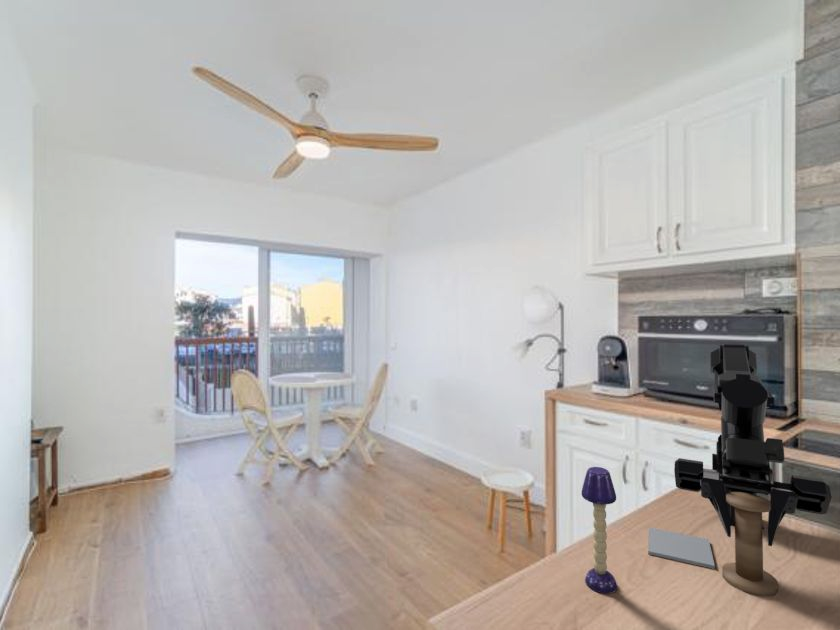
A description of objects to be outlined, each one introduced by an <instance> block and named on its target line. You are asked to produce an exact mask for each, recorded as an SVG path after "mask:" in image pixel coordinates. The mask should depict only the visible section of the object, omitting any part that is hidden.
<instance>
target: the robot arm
mask: <svg viewBox="0 0 840 630" xmlns="http://www.w3.org/2000/svg"><path fill="white" fill-rule="evenodd" d="M709 354H710V355H709V361H710V363H709V364H710V366H709V367H710V369H709V370H710V371H709V373H710V374H713V381H714V384H713V404H715V405H718V410H719V411H721V417H720V427H721V429H720V431H721V434H719V436H718V438H717V441H716V450H715V451H716V453H712V454H711V456H712V457H711V458H712V459H711V462H712V469H710V468H704V461H701V460H695V459H687V458H677V459H676V460H674V470H673V471H674V473H673V474H674V480H675V487H676V488H678V489H679V490H684V491H690V492H694V493H695V492H696V493H700V496H701V497H702V498H705V499H707V500H708V501H709V502H710V503H711V505H712V507H713V508H714V509H715V511H716V513H717V516H718V518H719V520H720V523H721V524H722V526H723V529H724V532H725V535H726V537H728V538H731V536H732V530H731V529H732V526H731V525H735V507H734V506H732V505H730V504H728V503H727V501H726V494H727V493H729V492H744V493H750V494H754V495H757V496H759V495H760V494H762V495H765V496H769V495H770V496H769V497H770V500H769V501H770V502H771V511H769V512H768V518H767V531H766V532H767V533H766V539H767V545H768V547H772V546H773V543H774V541H775V538H776V537H775V536H776V534H777V531H778V529H779V526H780V524H781V522H782V520H783V519H784V517H785V515H786V514H788V515H793V514H795V512H796V511H800V512H806V513H811V514H816V515H827V513H828V509H829V506H830V504H831V500H832V498H833V497H832V492H831V487H830V485H829V484H828V483H827V482H826V481H825V480H824V479H822V478H816V477H810V476H804V475H803V476H802V475H795V474H791V479H790V483H787V482H780V481H774V480H773V476H774V475H773V474H774V470H773V469H772V468H771V464H770V463H778V464H783V463H784V462H785V447H784V442H783V439H780V438H771V437H767V438H766V440H765V434H764V423H765V421H766V413H767V409H769V408H771V405H775V397H774V396H773V394H771V393H770V391H768V388H767V387H764V386H763V383H762V380H761V378H760V377H759V376H758V375H757V372H758V362H757V361H758V360H757V353H755V352H754V351H752V350H750V347H749V345H748V344H745V343H723V344H719V348H717V349H715V350H713V351H711V352H710V353H709ZM762 530H765V525H764V523H763V522H762Z"/></svg>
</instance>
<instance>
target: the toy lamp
mask: <svg viewBox="0 0 840 630" xmlns="http://www.w3.org/2000/svg"><path fill="white" fill-rule="evenodd" d="M616 494H617V493H616V490H615V486H614V483H613V480H612V477H611V473H610V472H609V470H608V469H607V468H604V467H601V466H600V467H599V466H592V467H591V466H590V467H588V469H587V470H586V473H585V476H584V480H583V483H582V487H581V496H582V498H583V499H584V500H585V501H587V502H590V503H592V506H593V511H592V514H593V515H592V516H593V518H594V519H593V521H592V522H593V528H594V529H593V538H594V541H593V549H594V551H593V558H594V562H593V568H591V569H590V570H588V571H587V573H586V574H585V575H586V576H585V577H584V578H585V579H584V582H585V584H586V585H587V587H588V588H590V589H592V590H593V591H595V592H596V593H601V594H611V593H612V594H613V593H614V592H616V591H617V589H618V585H617V581H616V580H617V579H615V576H614V575H613V574H612V573H611V572H610V571H609V570H607V569H608V565H607V559H608V556H607V552H606V551H607V548H608V544H607V539H608V538H607V537H608V533H607V531H606V529H607V521H606V520H607V511H606V507H607V505H611V504H614V503H615V502H616V501H617V495H616Z"/></svg>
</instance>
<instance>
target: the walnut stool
mask: <svg viewBox="0 0 840 630" xmlns="http://www.w3.org/2000/svg"><path fill="white" fill-rule="evenodd" d="M726 501H727V503H728V504H730V505H732V506H734V507H735V524H734V549H735V551H734V554H735V555H734V557H735V560H734V561H735V562H727V563H725V564H723V565H722V567H721V568H722V570H721V572H722V574H721V575H722V578H723V580H725V581H726V582H727V583H728V584H730V586H732V587H734V588H735V589H737V590H740V591H742V592H745V593H746V594H747V593H748V594H751V595H755V596H762V597H773V596H775V595H777V594H778V591H779V582H778V580H777V579H776V577H774V576H773V575H772V574H771V573H769V572H768V571H766V570H764V557H763V556H764V549H763V547H764V546H763V544H764V542H763V540H764V538H763V535H764V534H763V529H762V523H763V513H769V511H771V502H770V500H769V499H767V498H765V497H762V496H760V495H758V496H757V495H754V494H750V493H744V492H729V493H727V494H726Z"/></svg>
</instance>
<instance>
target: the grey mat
mask: <svg viewBox="0 0 840 630" xmlns="http://www.w3.org/2000/svg"><path fill="white" fill-rule="evenodd" d="M711 548H712V547H711V544H710V540H709V538H705V537H700V536H699V537H698V536H694V535H689V534H684V533H679V532H673V531H669V530H664V529H659V528H656V527H655V528H654V527H648V549H647V554H648V555H651V556H656V557H659V558H665V559H669V560H674V561H677V562H681V563H687V564H689V565H695V566H698V567H699V566H701V567H704V568H709V569H713V570H715V569H716V565H715V561H714V556H713V551H712V549H711Z"/></svg>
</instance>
